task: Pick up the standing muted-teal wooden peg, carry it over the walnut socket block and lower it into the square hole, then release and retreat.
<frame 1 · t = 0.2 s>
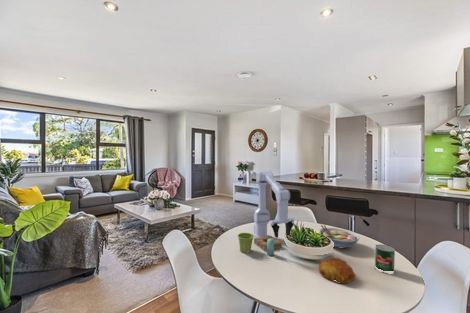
hand: (282, 236, 126), 10 cm above the table, fingers open, 7 cm apart
canned tomato: (384, 270, 111), on the table
socket block: (267, 245, 137), on the table
golden brown oval lump: (336, 276, 105), on the table
ramen bowl: (338, 245, 139), on the table
peg: (270, 254, 125), on the table
plant pot: (245, 250, 130), on the table
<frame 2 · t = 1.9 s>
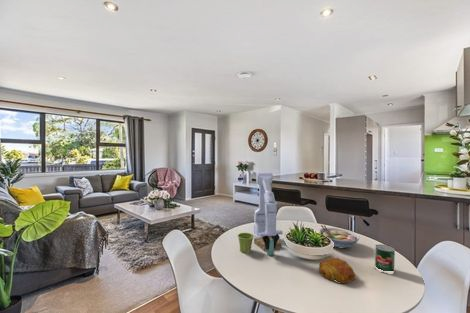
hand: (270, 248, 125), 3 cm above the table, fingers closed on peg, 4 cm apart
peg: (270, 254, 125), on the table, touching gripper
everything else where it was.
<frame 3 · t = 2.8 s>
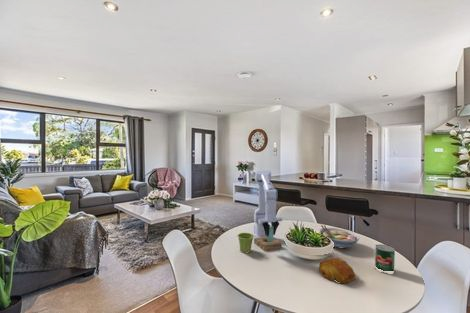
hand: (270, 235, 127), 10 cm above the table, fingers closed on peg, 4 cm apart
peg: (270, 240, 127), point 7 cm above the table, touching gripper
everything else where it was.
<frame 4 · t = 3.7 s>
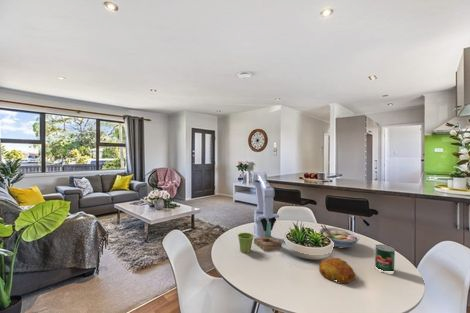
hand: (267, 230, 137), 9 cm above the table, fingers closed on peg, 4 cm apart
peg: (267, 235, 137), point 6 cm above the table, touching gripper
everything else where it was.
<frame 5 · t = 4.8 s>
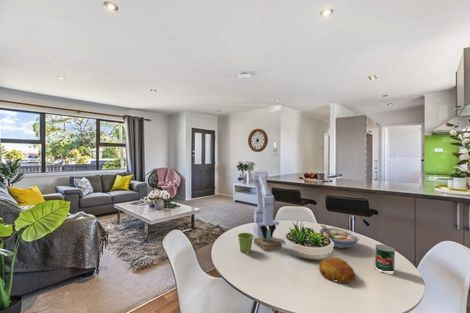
hand: (267, 237, 137), 5 cm above the table, fingers closed on peg, 4 cm apart
peg: (267, 243, 137), point 1 cm above the table, touching gripper
everything else where it was.
when the fingers open (5 cm above the table, at t = 5.4 s): peg drops 1 cm, resting in socket block.
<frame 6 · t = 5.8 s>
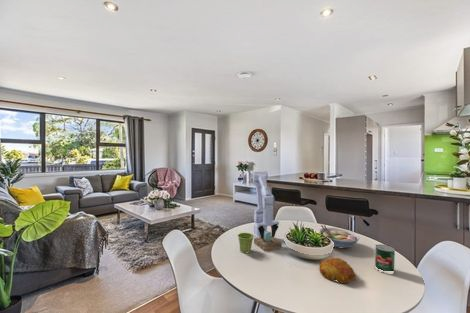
hand: (267, 237, 137), 5 cm above the table, fingers open, 7 cm apart
peg: (267, 245, 137), resting in socket block
everything else where it was.
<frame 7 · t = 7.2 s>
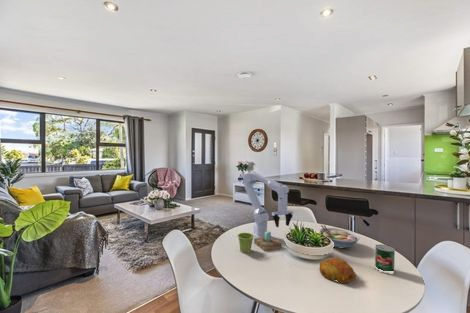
hand: (282, 226, 142), 10 cm above the table, fingers open, 7 cm apart
nothing on the table moved.
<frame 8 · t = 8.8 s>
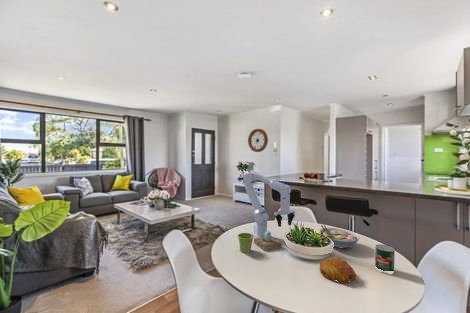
hand: (284, 225, 143), 10 cm above the table, fingers open, 7 cm apart
nothing on the table moved.
at the end: peg 0.2 cm off-centre on the socket block, point 0.0 cm above the socket block's base; peg tilted 0°; the gripper is holding nothing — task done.
